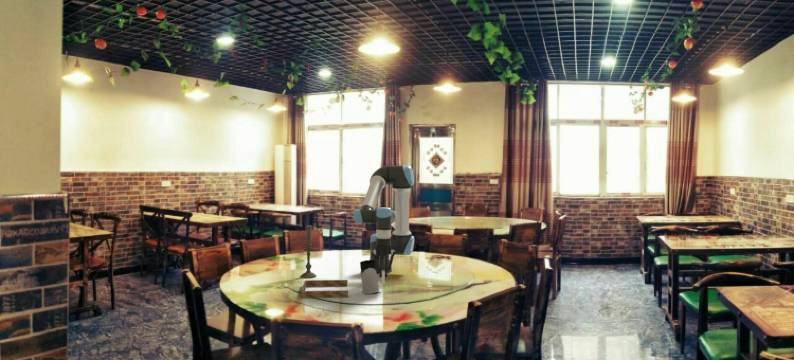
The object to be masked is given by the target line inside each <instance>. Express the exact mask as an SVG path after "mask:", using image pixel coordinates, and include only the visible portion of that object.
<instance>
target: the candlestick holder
mask: <svg viewBox="0 0 794 360" xmlns="http://www.w3.org/2000/svg"><path fill="white" fill-rule="evenodd" d="M311 227H312V225H306V243H305V250H306V261H307V263H306V264H304V266H305V269H306V271H305V272H302V274H300V275H299V277H300V278H302V279H315V278H317V274H315V272H313V271H311V269H312V264H311V250H312V246H313V244H312V242H311V241H312V240H311V239H312V234H311V233H312V232H311V231H312V229H311Z"/></svg>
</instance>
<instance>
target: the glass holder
mask: <svg viewBox="0 0 794 360" xmlns="http://www.w3.org/2000/svg"><path fill="white" fill-rule="evenodd" d="M359 267H360V277H361V279H360V280H361V287H362V288H361V289H362V290H361V293H362V294H368V295H369V294H375V293H378V292H379V291H380V288H379V283H378V275H377V274H378V273H376V267H375V261H374V260H370V259H367V260H362V261H360V262H359Z"/></svg>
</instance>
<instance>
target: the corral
mask: <svg viewBox="0 0 794 360" xmlns="http://www.w3.org/2000/svg"><path fill="white" fill-rule="evenodd" d="M307 287H348V279H321V280H319V279H315V280H313V279H310V280H309V279H306V280H304V281H303V284H302V287H301V290H300V299H309V298H310V299H313V298H314V299H317V298H318V299H319V298H324V299H325V298H349V290H306V289H307Z"/></svg>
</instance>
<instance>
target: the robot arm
mask: <svg viewBox="0 0 794 360" xmlns="http://www.w3.org/2000/svg"><path fill="white" fill-rule="evenodd" d="M370 176H371V177H370V179H369V186H368V189H367V191H366V194H365V197H364V199H363V201H362V204H361V207H360V208H356V209H355V210H354V212H353V220H354V222H355V223H357V224H372V225H373V224H375V225H376V229H375V230H376V231H375V232H376V233H373V234H371V236H370V241H369V243H370V245H369V246H370V248H369V253H370V254H369V255H370V256H369V260H374V261H375V267H376V274H379V275H378V276H379V278H380V281H381V285H385V283H386V280H385V279H386V278H388V273H392V271H393V266H392V265H393V261H394V257H395V256H411V254H413V250H414V246H415V236H414V235H412V232H411V231H410V191H411V189H412V186H414V185H415V172H414V170H413V168H412V166H411V165H406V164H404V165H401V164H399V165H390V164H389V165H388V164H386V165H383V166H381V167H379V168H378V169H376V170H374V172H373V173H372V174H371V175H370ZM386 186H391V189H392V190H393V191H394V210H392V209H391V207H388V206H387V207H384V206H383V207H377V206H378V202H379V199H380V196H381V193H382V191H383V189H384V188H385V187H386ZM376 207H377V208H376ZM393 223H394V230H393V231H392V224H393ZM391 232H392V233H391Z"/></svg>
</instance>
